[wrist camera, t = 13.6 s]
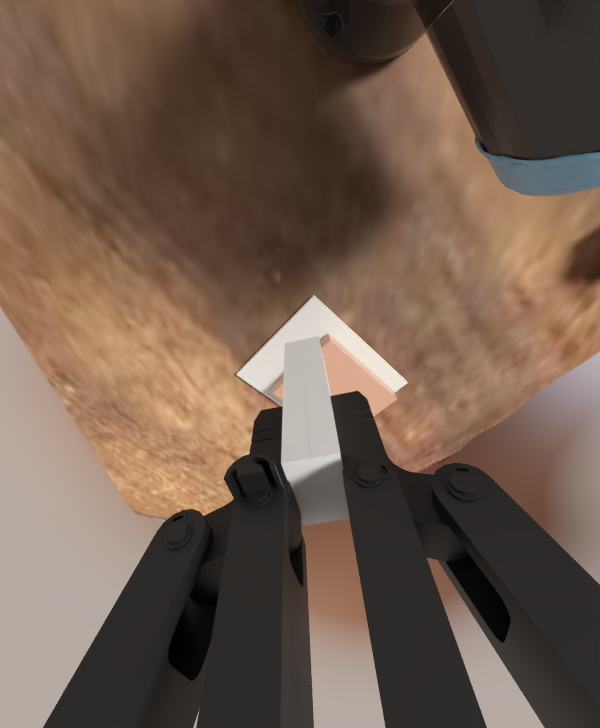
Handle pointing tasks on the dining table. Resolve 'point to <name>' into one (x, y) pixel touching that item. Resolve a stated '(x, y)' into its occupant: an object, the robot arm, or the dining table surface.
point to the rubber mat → (305, 325)
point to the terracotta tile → (349, 377)
